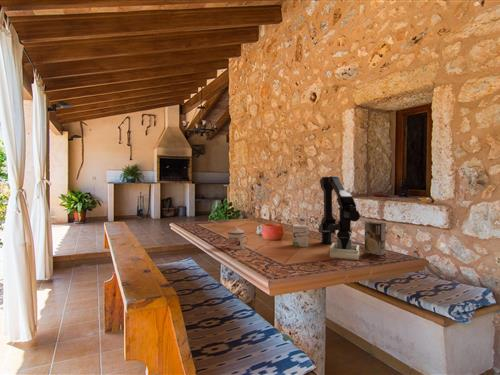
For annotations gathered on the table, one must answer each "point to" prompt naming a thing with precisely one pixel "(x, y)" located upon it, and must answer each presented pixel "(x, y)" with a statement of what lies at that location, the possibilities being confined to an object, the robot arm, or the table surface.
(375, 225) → the coffee box
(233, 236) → the teacup with lid
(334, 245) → the bay
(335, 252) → the tray
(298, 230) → the ink box
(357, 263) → the table surface
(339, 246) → the grey block
